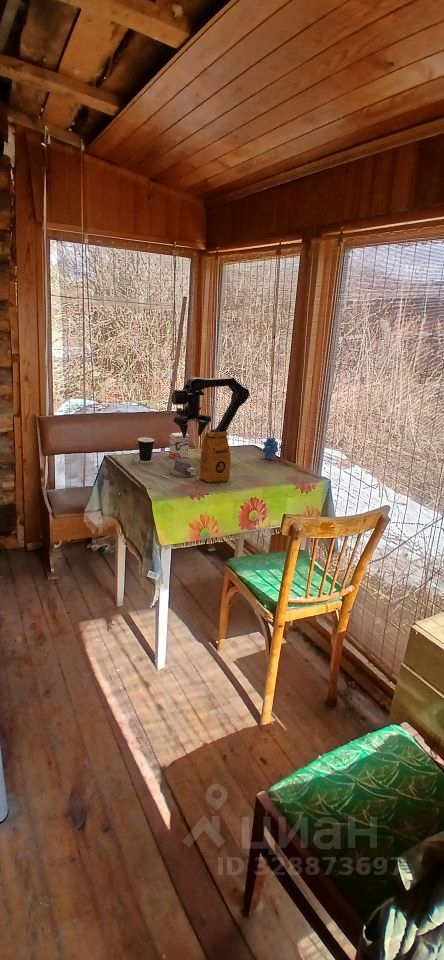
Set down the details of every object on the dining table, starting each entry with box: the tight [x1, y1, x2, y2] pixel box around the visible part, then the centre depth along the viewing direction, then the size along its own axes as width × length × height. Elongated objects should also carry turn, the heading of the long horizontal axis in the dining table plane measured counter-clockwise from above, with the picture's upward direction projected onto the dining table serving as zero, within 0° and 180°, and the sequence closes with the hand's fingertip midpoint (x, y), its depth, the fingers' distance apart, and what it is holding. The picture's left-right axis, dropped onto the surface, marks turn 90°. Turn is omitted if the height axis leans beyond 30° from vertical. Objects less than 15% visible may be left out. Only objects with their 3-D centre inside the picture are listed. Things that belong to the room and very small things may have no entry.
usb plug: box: [173, 458, 196, 475], centre depth 249 cm, size 4×12×5 cm, turn 42°
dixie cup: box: [137, 437, 155, 464], centre depth 264 cm, size 8×8×11 cm
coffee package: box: [199, 431, 232, 483], centre depth 242 cm, size 10×12×22 cm
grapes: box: [262, 436, 279, 460], centre depth 284 cm, size 12×7×12 cm, turn 32°
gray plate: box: [168, 468, 197, 479], centre depth 251 cm, size 12×12×1 cm
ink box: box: [168, 432, 190, 459], centre depth 277 cm, size 8×5×12 cm, turn 123°
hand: (191, 436), depth 265 cm, fingers open, 9 cm apart
